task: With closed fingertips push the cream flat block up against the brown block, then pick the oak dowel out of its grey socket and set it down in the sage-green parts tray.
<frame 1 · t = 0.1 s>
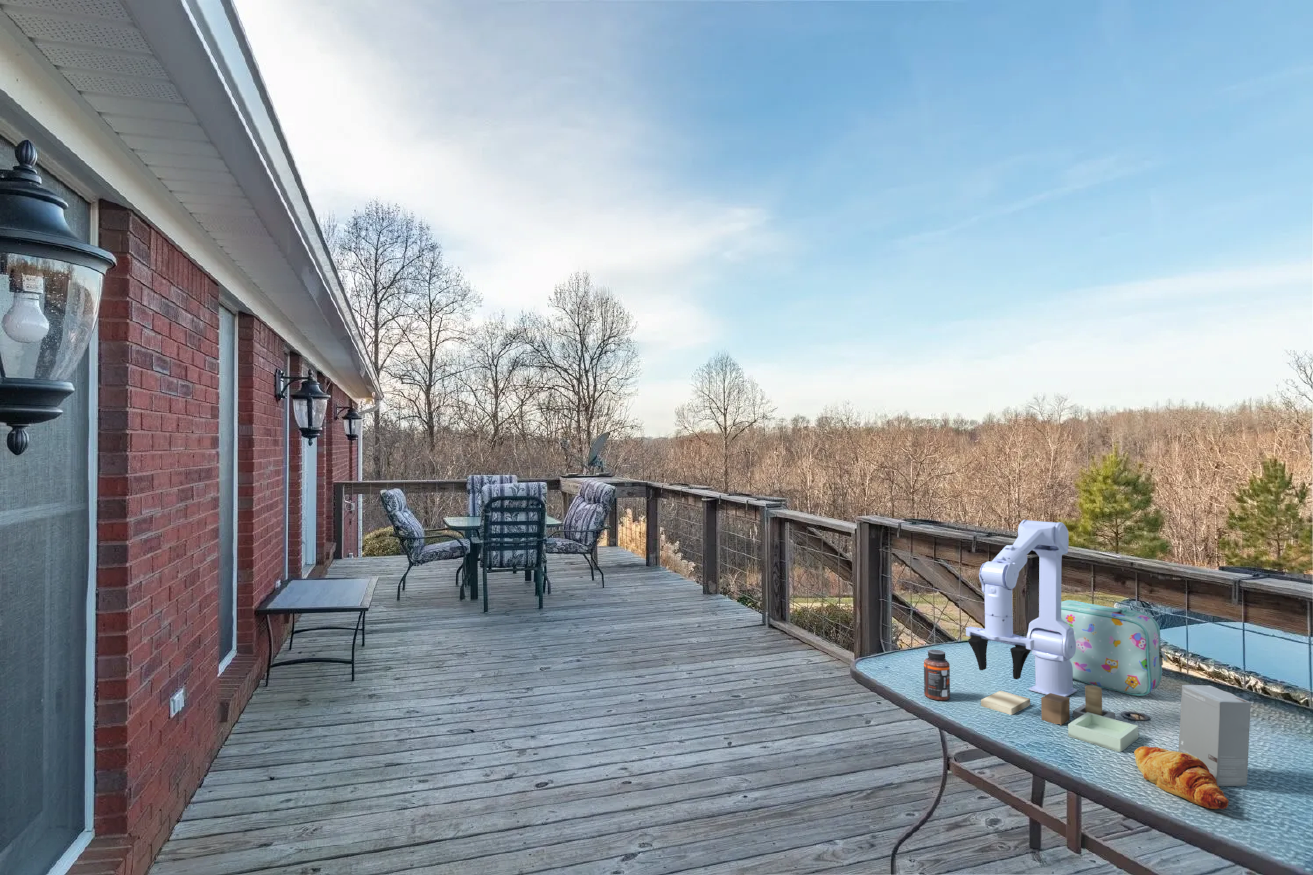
hand: (999, 673, 149), 10 cm above the table, tool pointing down, fingers open, 7 cm apart
dowel: (1093, 703, 148), in the dowel socket
brown block: (1055, 719, 147), on the table
cream flat block: (1005, 707, 156), on the table
lunch box: (1103, 685, 171), on the table
dowel socket: (1093, 718, 148), on the table
croissant: (1178, 788, 118), on the table
supplement bottle: (937, 697, 161), on the table
skincare box: (1214, 777, 121), on the table
tray: (1103, 737, 138), on the table
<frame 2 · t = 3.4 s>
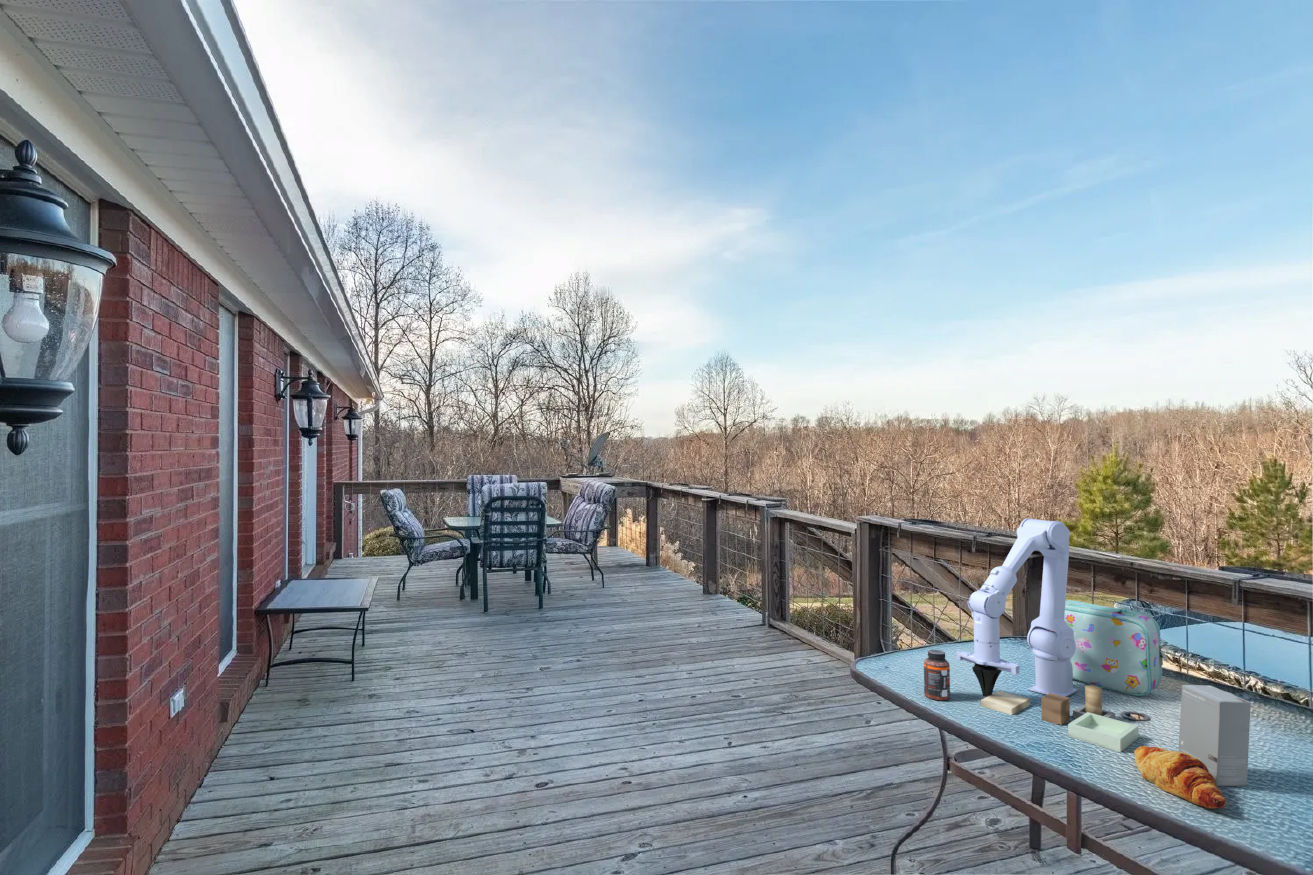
hand: (987, 695, 159), 1 cm above the table, tool pointing down, fingers closed
cream flat block: (1005, 707, 156), on the table, touching gripper
everything else where it was.
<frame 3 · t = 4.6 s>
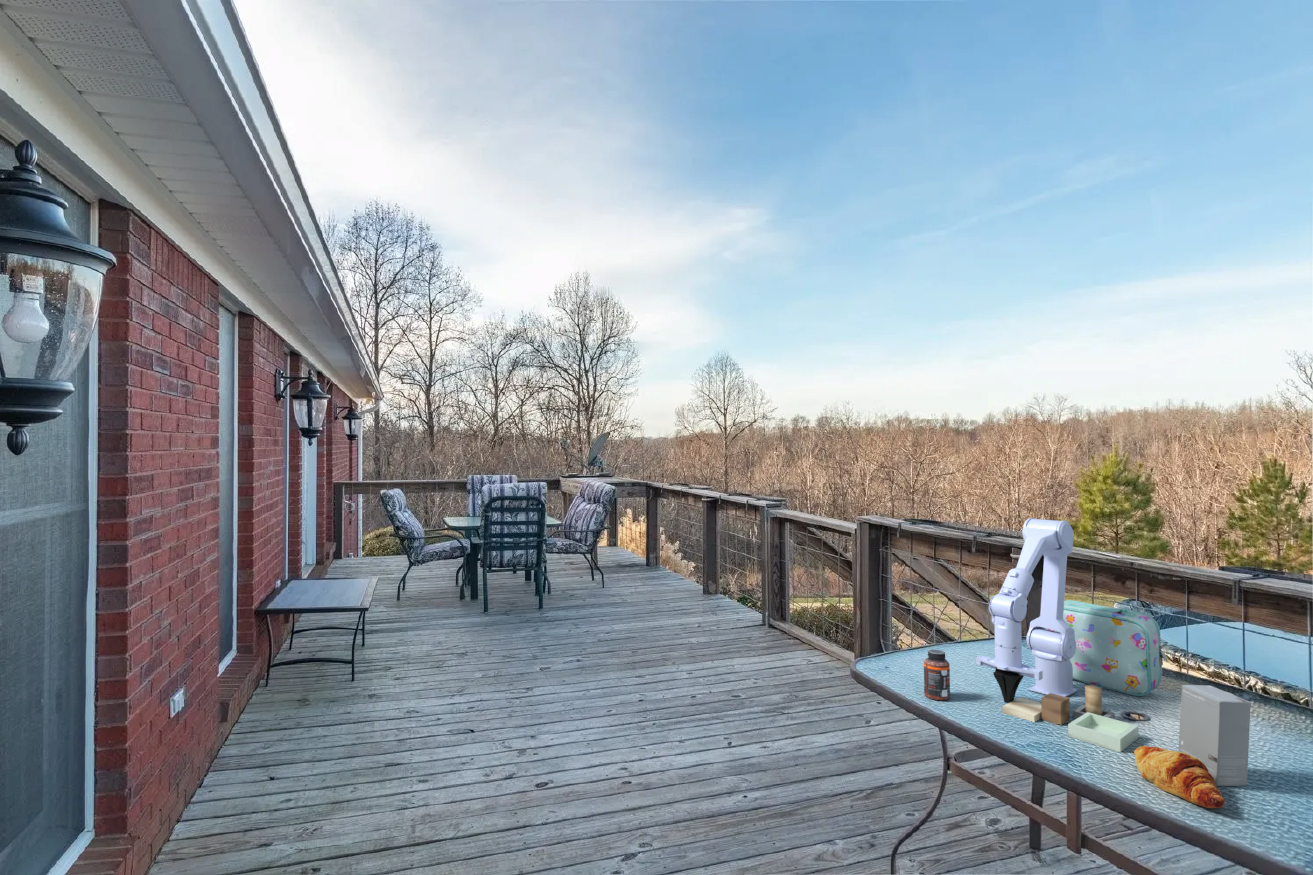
hand: (1008, 702, 155), 1 cm above the table, tool pointing down, fingers closed
cream flat block: (1027, 714, 152), on the table
everything else where it was.
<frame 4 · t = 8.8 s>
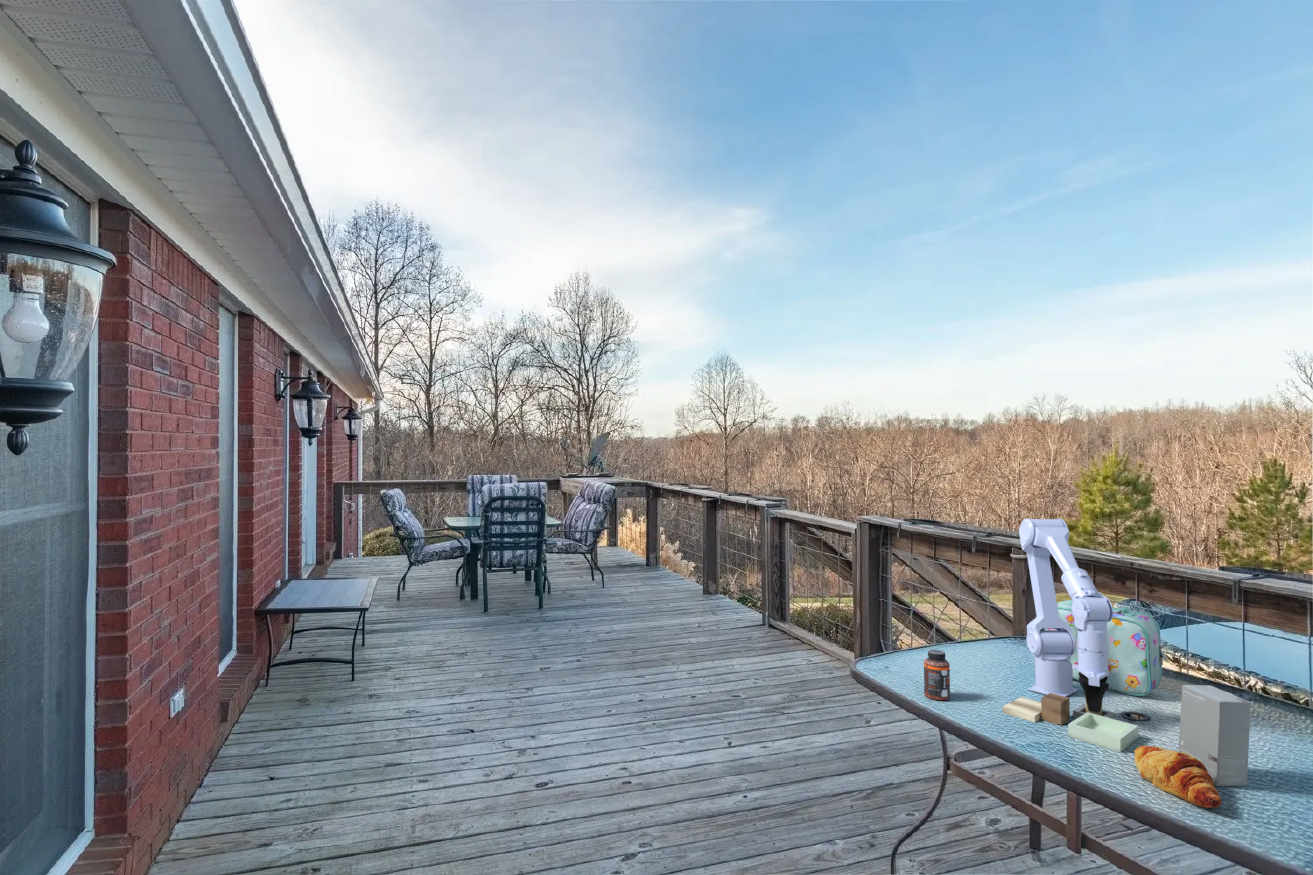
hand: (1093, 708, 148), 2 cm above the table, tool pointing down, fingers closed on dowel, 3 cm apart
dowel: (1093, 703, 148), in the dowel socket, touching gripper
everything else where it was.
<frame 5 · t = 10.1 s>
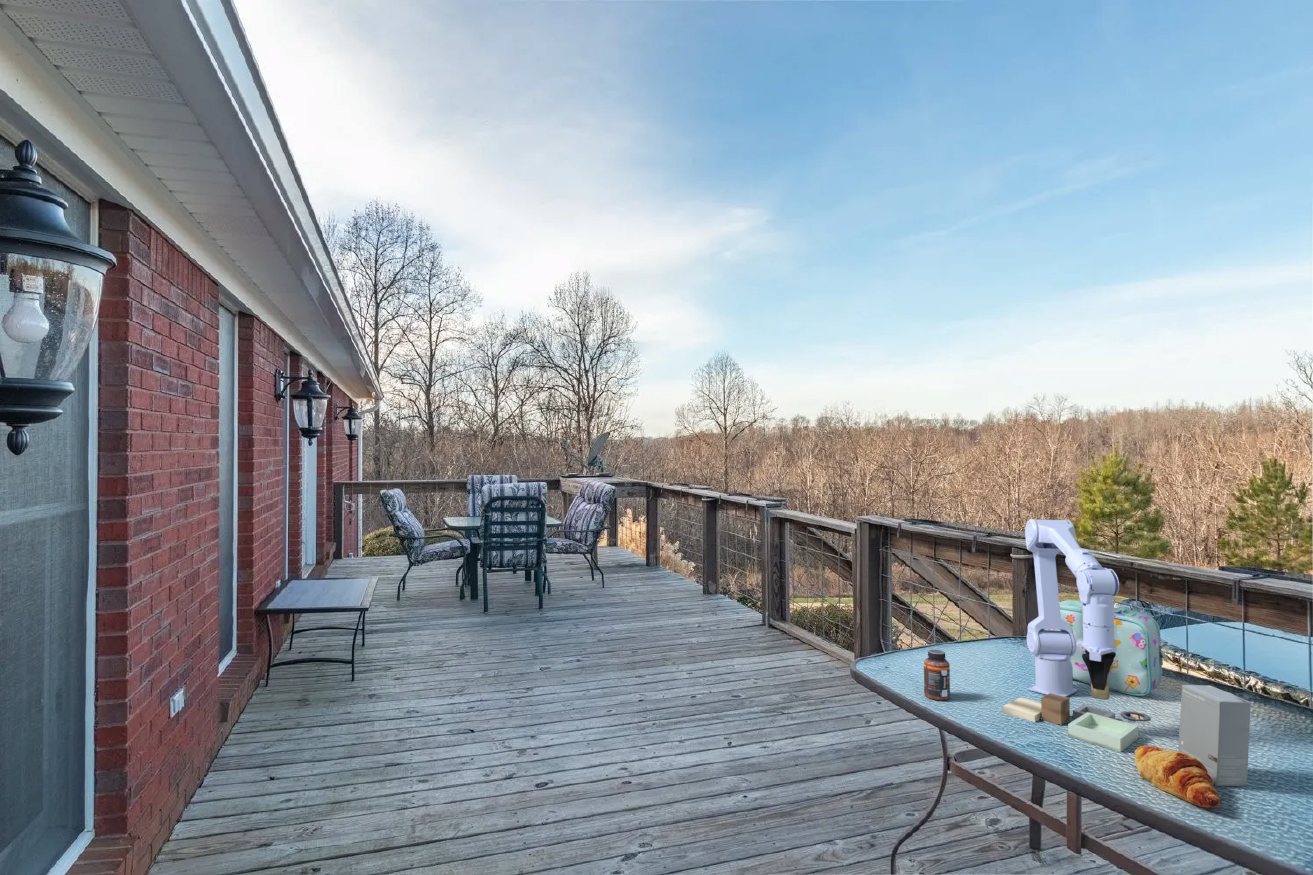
hand: (1099, 686, 142), 10 cm above the table, tool pointing down, fingers closed on dowel, 3 cm apart
dowel: (1099, 680, 142), point 11 cm above the table, touching gripper
everything else where it was.
when the fingers open (4 cm above the table, at t = 11.6 s): dowel drops 2 cm, resting on tray.
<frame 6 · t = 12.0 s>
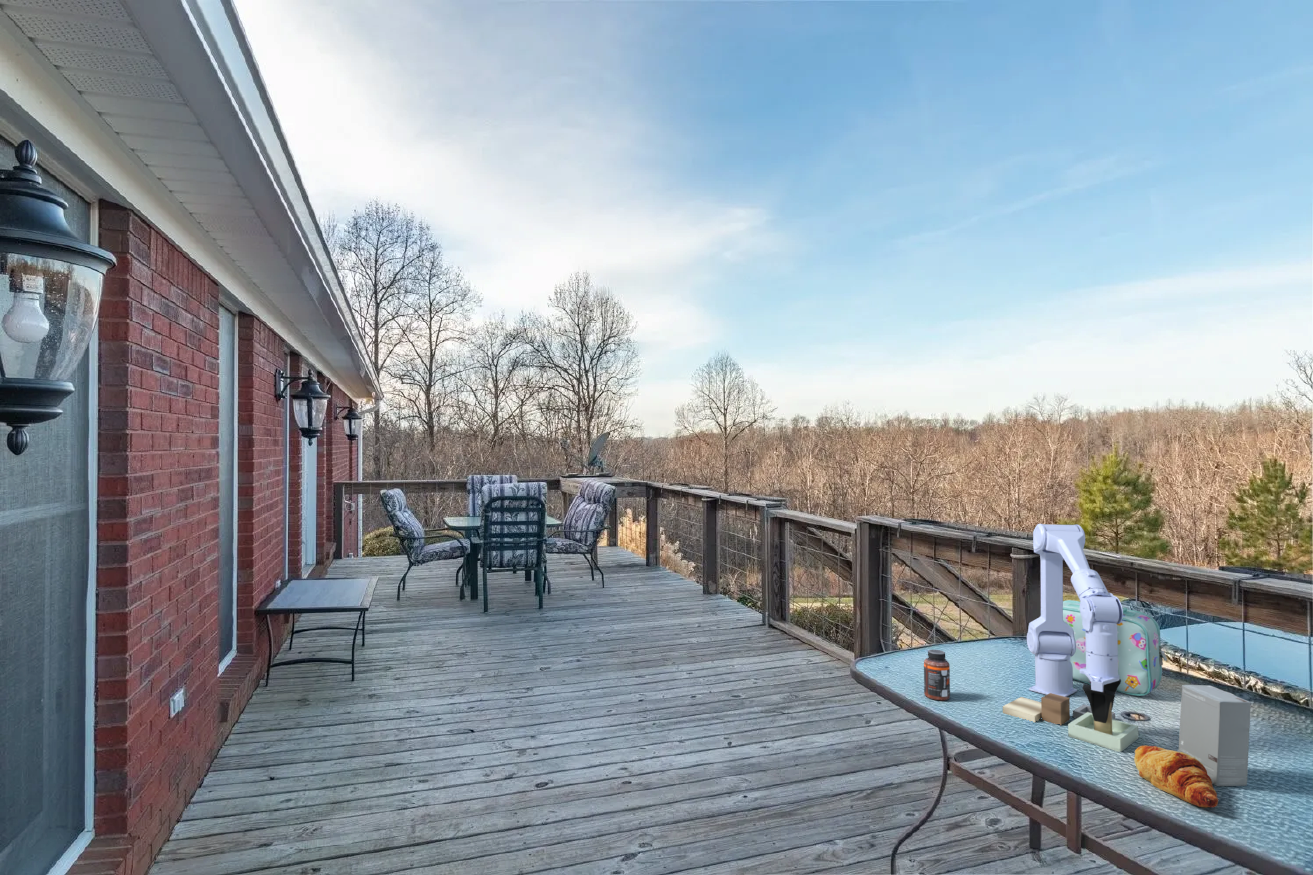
hand: (1102, 716, 138), 4 cm above the table, tool pointing down, fingers open, 7 cm apart
dowel: (1102, 717, 138), in the tray, point 4 cm above the table
everything else where it was.
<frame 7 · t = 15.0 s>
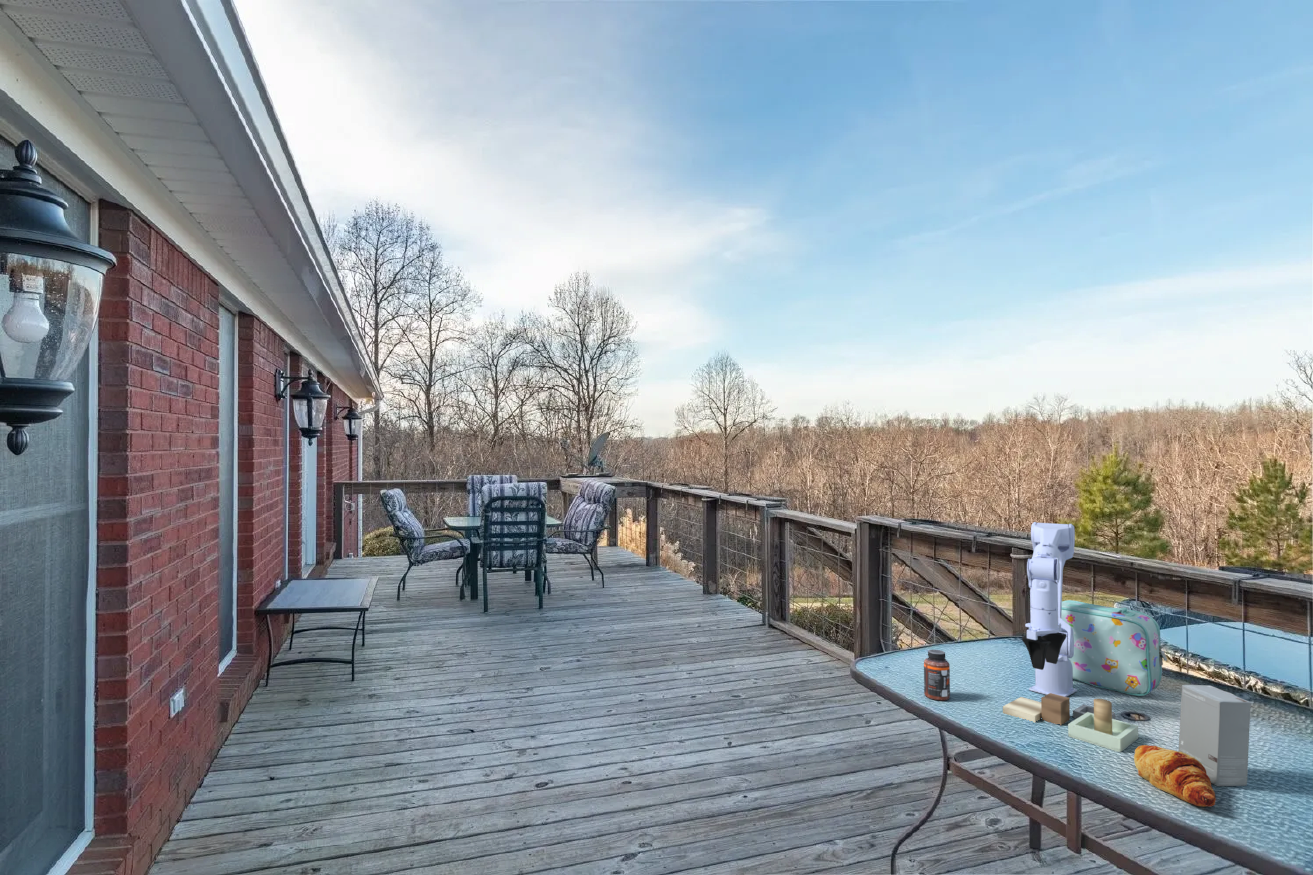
hand: (1044, 665, 154), 10 cm above the table, tool pointing down, fingers open, 7 cm apart
nothing on the table moved.
at the end: cream flat block 0.7 cm from the target spot on the table beside the brown block, on the table; dowel inside the target area on the tray (0.0 cm from its centre), point 4.1 cm above the tray's base; the gripper is holding nothing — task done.
